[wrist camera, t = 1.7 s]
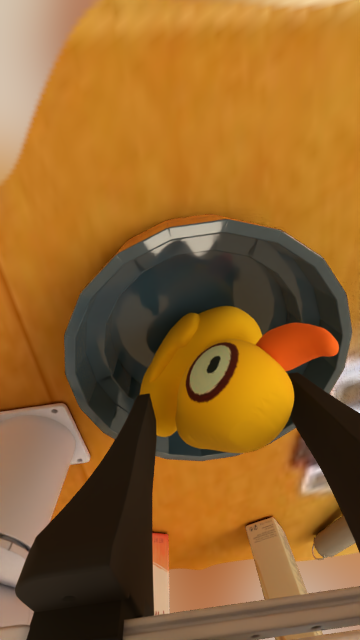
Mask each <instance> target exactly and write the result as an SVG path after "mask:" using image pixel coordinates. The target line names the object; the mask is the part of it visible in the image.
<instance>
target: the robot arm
mask: <svg viewBox="0 0 360 640" xmlns="http://www.w3.org/2000/svg"><path fill="white" fill-rule="evenodd" d="M288 376H289V378H290V380H291V382H292V385H293V389H294V404H293V408H292V411H291V415H290V418H291V420H292V422H293V423H294V425H295V427H296V428H297V430H298V432H299V433H300V435H301V437H302V438H303V440H304V441H305V443H306V445H307V446H308V448H309V450H310V451H311V453H312V455H313V456H314V458H315V459H316V461H317V463H318V465H319V466H320V468H321V470H322V472H323V474H324V476H325V478H326V480H327V482H328V484H329V486H330V488H331V490H332V492H333V494H334V496H335V498H336V500H337V503H338V505H339V507H340V509H341V511H342V513H343V515H344V518H345V520H346V522H347V524H348V527H349V529H350V531H351V533H352V536H353V538H354V540H355V542H356V545H357V547H358V550H359V552H360V413H358V412H357V411H355V410H353V409H352V408H350V407H348V406H347V405H345V404H344V403H342V402H340V401H339V400H337V399H336V398H334V397H333V396H331V395H330V394H328V393H327V392H325V391H324V390H322V389H321V388H320V387H318V386H317V385H315V384H314V383H312V382H311V381H310V380H308V379H307V378H305V377H304V376H302V375H301V374H300V373H298V372H295V373H288ZM55 409H56V410H55ZM156 441H157V432H156V417H155V413H154V409H153V405H152V401H151V397H150V393H148V394H141V395H138V396H137V397H136V400H135V402H134V404H133V407H132V409H131V411H130V413H129V415H128V417H127V419H126V421H125V423H124V425H123V427H122V429H121V431H120V432H119V434H118V436H117V437H116V439H115V441H114V443H113V444H112V446H111V448H110V449H109V451H108V452H107V454H106V455H105V457H104V458H103V460H102V461H101V463H100V464H99V466H98V467H97V468H96V470H95V471H94V472H93V474H92V475H91V476H90V478H89V479H88V480H87V481H86V483H85V484H84V485H83V486H82V488H81V489H80V490H79V491H78V492H77V493H76V495H75V496H74V497H73V498H72V499H71V500H70V502H69V503H68V504H67V505H66V506H65V507H64V508H63V510H62V511H61V512H60V513H59V514H58V515H57V516H56V517H55V518H54V519H53V520H52V521H51V522H50V520H51V517H52V514H53V512H54V509H55V506H56V503H57V500H58V497H59V494H60V492H61V489H62V486H63V483H64V480H65V477H66V474H67V471H68V469H69V466H70V465H72V464H79V463H86V462H88V461H89V460H90V454H89V452H88V450H87V448H86V446H85V444H84V441H83V439H82V437H81V435H80V433H79V431H78V429H77V427H76V424H75V422H74V420H73V418H72V416H71V414H70V412H69V409H68V407H67V406H66V405H65V404H63V403H58V404H51V405H44V406H37V407H30V408H23V409H16V410H9V411H3V412H0V640H258V639H265V638H272V637H279V636H286V635H293V634H300V633H307V632H314V631H321V630H328V629H335V628H342V627H349V626H356V625H360V586H359V587H351V588H344V589H337V590H330V591H323V592H317V593H309V594H302V595H295V596H288V597H281V598H274V599H267V600H261V601H253V602H246V603H239V604H232V605H225V606H218V607H211V608H204V609H197V610H190V611H183V612H176V613H169V614H162V615H155V616H154V591H153V547H152V490H153V477H154V465H155V453H156ZM291 640H360V630H353V631H347V632H340V633H332V634H325V635H318V636H311V637H304V638H297V639H291Z"/></svg>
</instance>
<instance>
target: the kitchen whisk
mask: <svg viewBox="0 0 360 640" xmlns="http://www.w3.org/2000/svg"><path fill="white" fill-rule="evenodd" d="M354 543H356V542H355V540H354V538H353V536H352V533H351V531H350V529H349V527H348V524H347V522H346V520H345V518H344V515H343V516H342V517H340V518H339V519H338V520H336V521H335V522H333V523H332V524H330V525H329V526H328V527H326V528H325V529H323V530H322V531H321V532H319V533H318V534H317V535H316V537H315V538H314V544H313V547H312V554H313V548H314V546H315V548H316V550H317V551H318V553H319V554H320V555H321V556H323V558H320V559H318V558H315V556H314V554H313V556H314V558H315V559H317V560H323V559H324V558H327V557H333V556H334V555H336V554H338V553H339V552H341V551H343V550H344V549H346V548H347V547H349V546H351V545H352V544H354Z"/></svg>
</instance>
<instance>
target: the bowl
mask: <svg viewBox="0 0 360 640" xmlns="http://www.w3.org/2000/svg"><path fill="white" fill-rule="evenodd" d="M220 306H233V307H236V308H239V309H241V310H243V311H244V312H246V313H247V314H249V315H250V316H251V317H252V318H253V319H254V320H255V321H256V323H257V324H258V326H259V328H260V331H261V333H262V336H263V335H264V334H265V333H266V332H268V331H269V330H271V329H274V328H276V327H279V326H282V325H285V324H289V323H305V324H311V325H314V326H318V327H322V328H324V329H326V330H327V331H328V332H330V333H331V335H332V336H333V337H334V338H335V339H336V340H337V342H338V345H339V350H338V353H337V354H336V355H335V356H331V357H326V356H321V357H318V358H315V359H312V360H310V361H308V362H306V363H304V364H302V365H300V366H298V367H296V368H294V369H292V370H289V371H286V373H287V374H288V373H295V372H298V373H300V374H301V375H302V376H304V377H305V378H307V379H308V380H310V381H311V382H312V383H314V384H315V385H317V386H318V387H320V388H321V389H322V390H324V391H325V392H327V393H328V394H330V392H331V390H332V389H333V387H334V385H335V384H336V382H337V380H338V379H339V377H340V375H341V374H342V372H343V370H344V368H345V363H346V359H347V354H348V350H349V346H350V341H351V337H352V326H351V320H350V313H349V307H348V300H347V295H346V292H345V291H344V289H343V288H342V286H341V285H340V283H339V281H338V280H337V278H336V277H335V275H334V274H333V272H332V271H331V269H330V267H329V266H328V264H327V263H326V261H325V260H324V258H322V256H320V255H319V254H317V253H316V252H314V251H313V250H311V249H310V248H308V247H307V246H305V245H304V244H302V243H301V242H299V241H298V240H296V239H295V238H293V237H292V236H290V235H289V234H287V233H286V232H284V231H282V230H280V229H276V228H272V227H268V226H263V225H259V224H255V223H251V222H247V221H242V220H237V219H232V218H227V217H223V216H218V215H213V214H205V215H198V216H191V217H184V218H177V219H170V220H167V221H164V222H162V223H160V224H158V225H156V226H154V227H152V228H150V229H148V230H146V231H144V232H143V233H141V234H139V235H137V236H135V237H133V238H131V239H129V240H128V241H127V242H126V243H125V244H124V245H123V246H122V247H121V248H120V249H119V250H118V252H117V253H116V254H115V255H114V256H113V257H112V258H111V259H110V260H109V261H108V262H107V263H106V264H105V266H104V267H103V268H102V269H101V270H100V271H99V272H98V273H97V274H96V276H95V277H94V278H93V279H92V280H91V281H90V282H89V283H88V285H87V286H86V287H85V288H84V289H83V290H82V292H81V293H80V295H79V298H78V300H77V303H76V306H75V308H74V311H73V313H72V316H71V318H70V321H69V323H68V326H67V329H66V331H65V335H64V348H65V374H66V377H67V380H68V382H69V384H70V387H71V389H72V391H73V393H74V396H75V398H76V400H77V403H78V405H79V407H80V409H81V410H82V411H83V412H84V413H85V414H86V415H87V416H88V417H89V418H90V419H91V420H92V421H93V422H94V423H95V424H96V425H97V426H98V428H99V429H100V430H101V431H102V432H103V433H105V434H107V435H108V436H110V437H112V438H114V439H116V437H117V436H118V434H119V432H120V431H121V429H122V427H123V425H124V423H125V421H126V419H127V417H128V415H129V413H130V411H131V409H132V407H133V404H134V402H135V400H136V397H137V396H138V395H140V389H141V384H142V380H143V377H144V375H145V372H146V371H147V369H148V367H149V366H150V364H151V363H152V360H153V358H154V356H155V354H156V352H157V350H158V348H159V346H160V345H161V343H162V341H163V340H164V338H165V337H166V335H167V334H168V332H169V331H170V330H171V328H172V327H173V326H174V325H175V324H176V323H177V322H178V321H179V320H180V319H181V318H182V317H183V316H185V315H186V314H189V313H196V314H199V313H201V312H204V311H206V310H209V309H212V308H215V307H220ZM295 428H296V427H295V425H294V423H293V422H292V420H291V418H290V417H289V420H288V422H287V423H286V425H285V427H284V428H283V430H282V431H281V432H280V434H279V435H278V436H277V437H276V438H275V439H274V440H273V441H275V440H277V439H278V438H280V437H282V436H283V435H285V434H287V433H288V432H290V431H291V430H293V429H295ZM273 441H272V442H273ZM272 442H270V443H272ZM270 443H269V444H270ZM240 454H243V453H229V452H222V451H217V450H211V449H200V448H195V447H193V446H190V445H188V444H186V443H185V442H184V441H183V440H182V439H181V437H180V436H179V434H178V431H176V432H175V433H173V434H172V435H170V436H167V437H160V436H157V441H156V453H155V456H157V457H161V458H164V459H173V460H191V461H205V460H212V459H219V458H226V457H233V456H235V455H236V456H237V455H240Z"/></svg>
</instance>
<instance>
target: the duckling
mask: <svg viewBox="0 0 360 640" xmlns="http://www.w3.org/2000/svg"><path fill="white" fill-rule="evenodd" d="M338 350H339V345H338V342H337V340H336V339H335V338H334V337H333V336H332V335H331V333H330V332H328V331H327V330H326V329H324V328H322V327H318V326H314V325H311V324H305V323H289V324H285V325H282V326H279V327H276V328H274V329H271V330H269V331H268V332H266V333H265V334H264V335H263V336H262V333H261V331H260V328H259V326H258V324H257V323H256V321H255V320H254V319H253V318H252V317H251V316H250V315H249V314H247V313H246V312H244V311H243V310H241V309H239V308H236V307H233V306H220V307H215V308H212V309H209V310H206V311H204V312H201V313H199V314H196V313H189V314H186V315H185V316H183V317H182V318H181V319H180V320H179V321H178V322H177V323H176V324H175V325H174V326H173V327H172V328H171V330H170V331H169V332H168V334H167V335H166V337H165V338H164V340H163V341H162V343H161V345H160V346H159V348H158V350H157V352H156V354H155V356H154V358H153V360H152V363H151V364H150V366H149V367H148V369H147V371H146V372H145V375H144V377H143V380H142V384H141V389H140V395H141V394H148V393H150V397H151V401H152V405H153V409H154V413H155V417H156V432H157V436H160V437H167V436H170V435H172V434H173V433H175V432H176V431H178V434H179V436H180V437H181V439H182V440H183V441H184V442H185V443H186V444H188V445H190V446H193V447H195V448H200V449H211V450H217V451H222V452H229V453H248V452H252V451H255V450H258V449H260V448H262V447H264V446H266V445H268V444H269V443H270V442H272V441H273V440H274V439H275V438H276V437H277V436H278V435H279V434H280V432H281V431H282V430H283V428H284V427H285V425H286V423H287V422H288V420H289V417H290V415H291V411H292V408H293V404H294V389H293V385H292V382H291V380H290V378H289V376H288V374H287V373H286V371H289V370H292V369H294V368H296V367H298V366H300V365H302V364H304V363H306V362H308V361H310V360H312V359H315V358H318V357H321V356H326V357H331V356H335V355H336V354H337V353H338Z"/></svg>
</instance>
